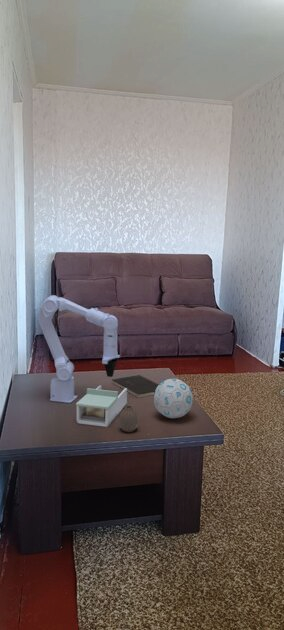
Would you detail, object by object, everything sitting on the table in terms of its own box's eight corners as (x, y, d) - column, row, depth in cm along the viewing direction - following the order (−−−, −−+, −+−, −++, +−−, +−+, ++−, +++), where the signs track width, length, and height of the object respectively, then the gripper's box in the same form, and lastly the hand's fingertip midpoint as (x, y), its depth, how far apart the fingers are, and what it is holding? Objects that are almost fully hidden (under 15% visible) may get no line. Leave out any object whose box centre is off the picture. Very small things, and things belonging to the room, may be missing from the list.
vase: (131, 435, 163) (131, 411, 162) (115, 430, 167) (115, 407, 165) (141, 428, 169) (142, 405, 168) (125, 424, 173) (126, 401, 171)
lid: (76, 405, 172) (76, 398, 171) (87, 395, 183) (87, 388, 183) (108, 409, 169) (108, 402, 168) (117, 398, 180) (118, 391, 180)
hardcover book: (137, 399, 201) (137, 394, 201) (111, 384, 220) (111, 379, 220) (167, 393, 210) (168, 388, 209) (140, 379, 229) (140, 374, 228)
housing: (76, 423, 173) (76, 406, 172) (99, 400, 197) (99, 385, 196) (107, 427, 170) (107, 410, 169) (126, 403, 194) (127, 388, 193)
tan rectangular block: (86, 417, 176) (86, 404, 175) (90, 413, 180) (90, 401, 179) (103, 419, 174) (104, 406, 173) (107, 415, 178) (107, 403, 177)
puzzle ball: (158, 425, 172) (159, 386, 170) (149, 410, 187) (150, 374, 184) (197, 423, 175) (199, 385, 173) (185, 408, 190) (187, 373, 187)
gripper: (114, 349, 186) (113, 382, 188) (124, 341, 199) (124, 372, 202) (97, 348, 187) (97, 380, 190) (108, 340, 201) (108, 370, 204)
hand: (110, 376), depth 196 cm, fingers closed
